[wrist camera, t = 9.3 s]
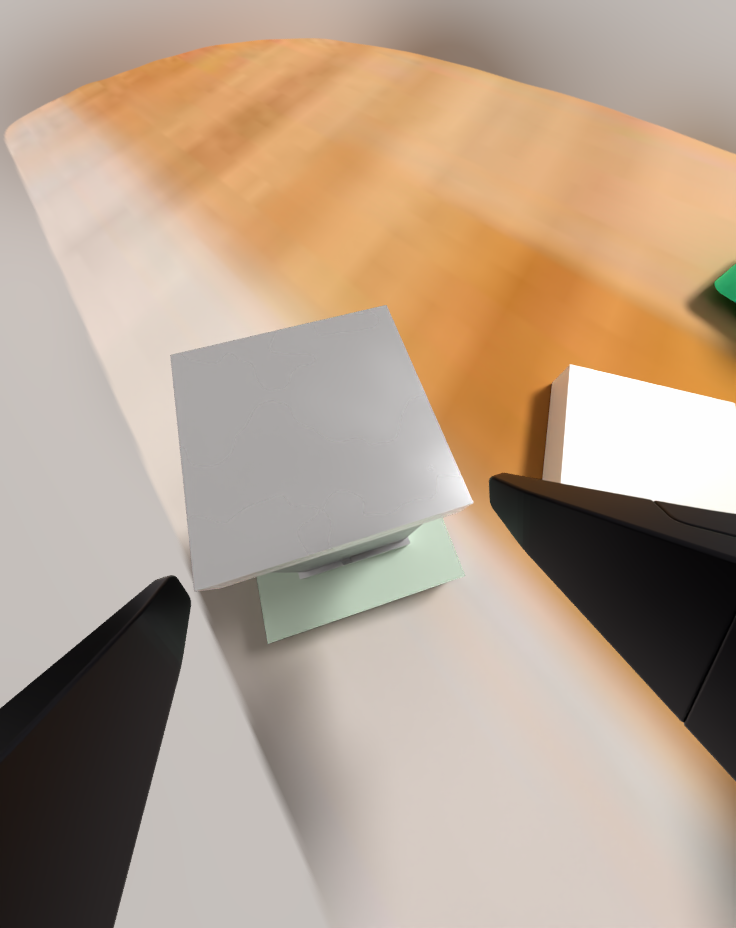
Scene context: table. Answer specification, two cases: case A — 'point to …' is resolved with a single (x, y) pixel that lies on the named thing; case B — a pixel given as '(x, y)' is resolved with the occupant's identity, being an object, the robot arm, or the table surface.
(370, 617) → the table surface
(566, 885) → the table surface
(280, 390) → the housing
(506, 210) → the table surface
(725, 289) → the camera mount
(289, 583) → the stand
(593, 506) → the robot arm
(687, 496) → the stand
